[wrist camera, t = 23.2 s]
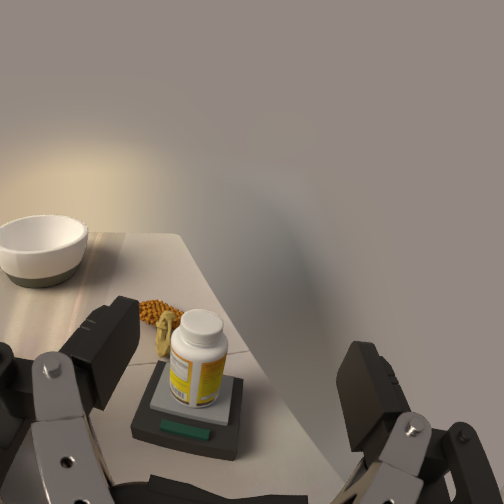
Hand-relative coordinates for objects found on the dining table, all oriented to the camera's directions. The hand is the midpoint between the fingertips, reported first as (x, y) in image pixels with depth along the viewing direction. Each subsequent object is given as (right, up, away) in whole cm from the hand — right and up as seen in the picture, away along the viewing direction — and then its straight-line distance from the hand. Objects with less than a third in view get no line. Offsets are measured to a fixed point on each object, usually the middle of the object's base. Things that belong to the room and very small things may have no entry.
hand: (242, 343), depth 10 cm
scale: (-7, -16, +20) cm, 26 cm away
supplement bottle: (-6, -12, +19) cm, 24 cm away
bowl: (-44, 0, +39) cm, 59 cm away
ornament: (-14, -9, +32) cm, 36 cm away
